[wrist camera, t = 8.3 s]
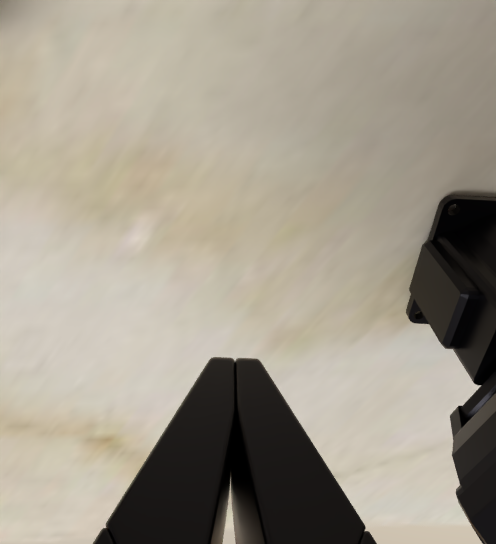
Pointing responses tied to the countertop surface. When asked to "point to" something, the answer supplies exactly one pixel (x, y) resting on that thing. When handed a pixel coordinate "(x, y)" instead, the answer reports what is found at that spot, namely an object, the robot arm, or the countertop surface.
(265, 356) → the countertop surface
